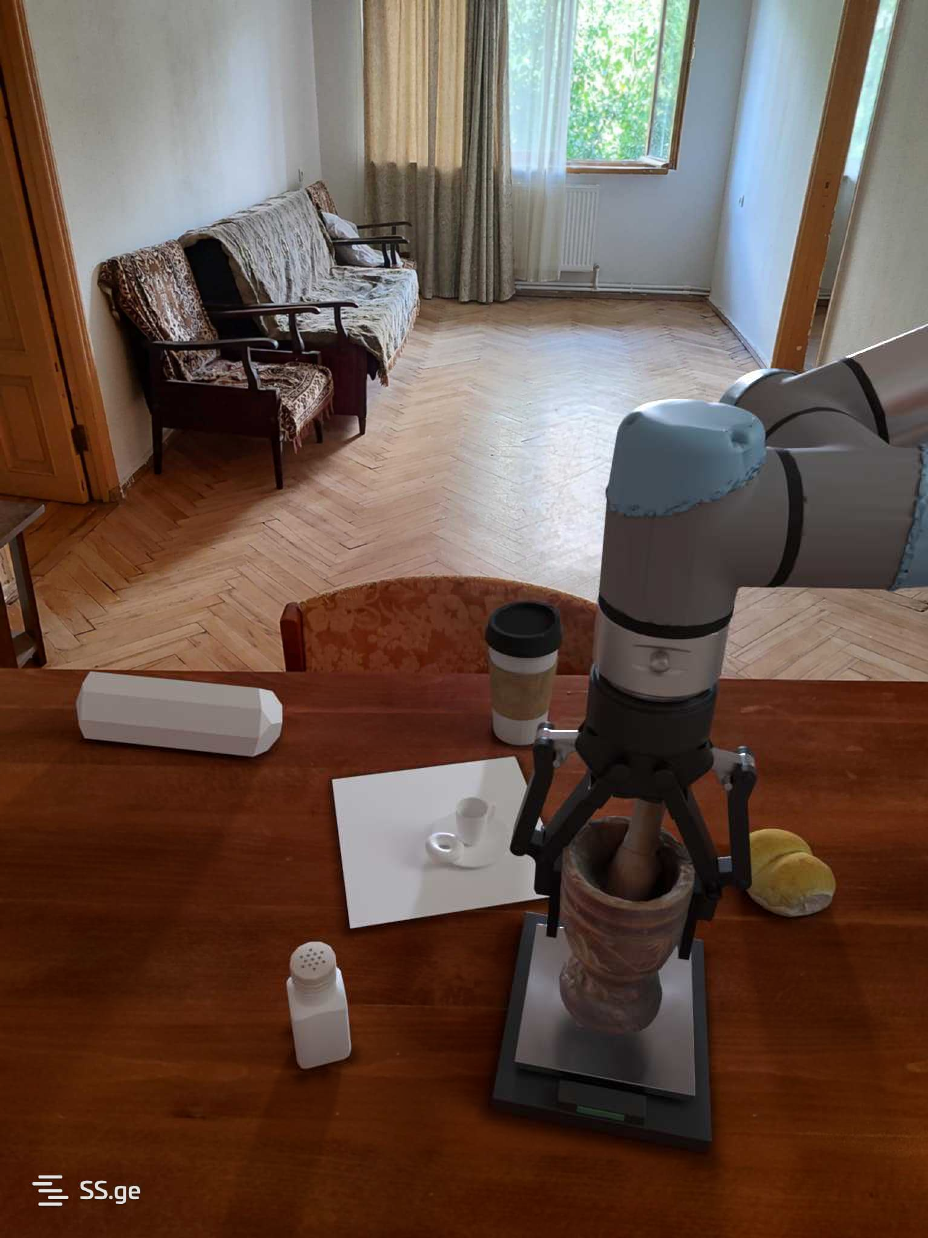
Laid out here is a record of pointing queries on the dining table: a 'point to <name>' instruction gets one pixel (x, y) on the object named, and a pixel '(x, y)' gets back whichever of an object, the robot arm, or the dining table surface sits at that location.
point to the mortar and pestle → (621, 917)
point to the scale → (595, 1101)
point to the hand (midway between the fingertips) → (617, 933)
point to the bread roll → (788, 874)
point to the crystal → (178, 714)
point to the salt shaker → (318, 1006)
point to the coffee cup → (522, 667)
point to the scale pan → (608, 1059)
